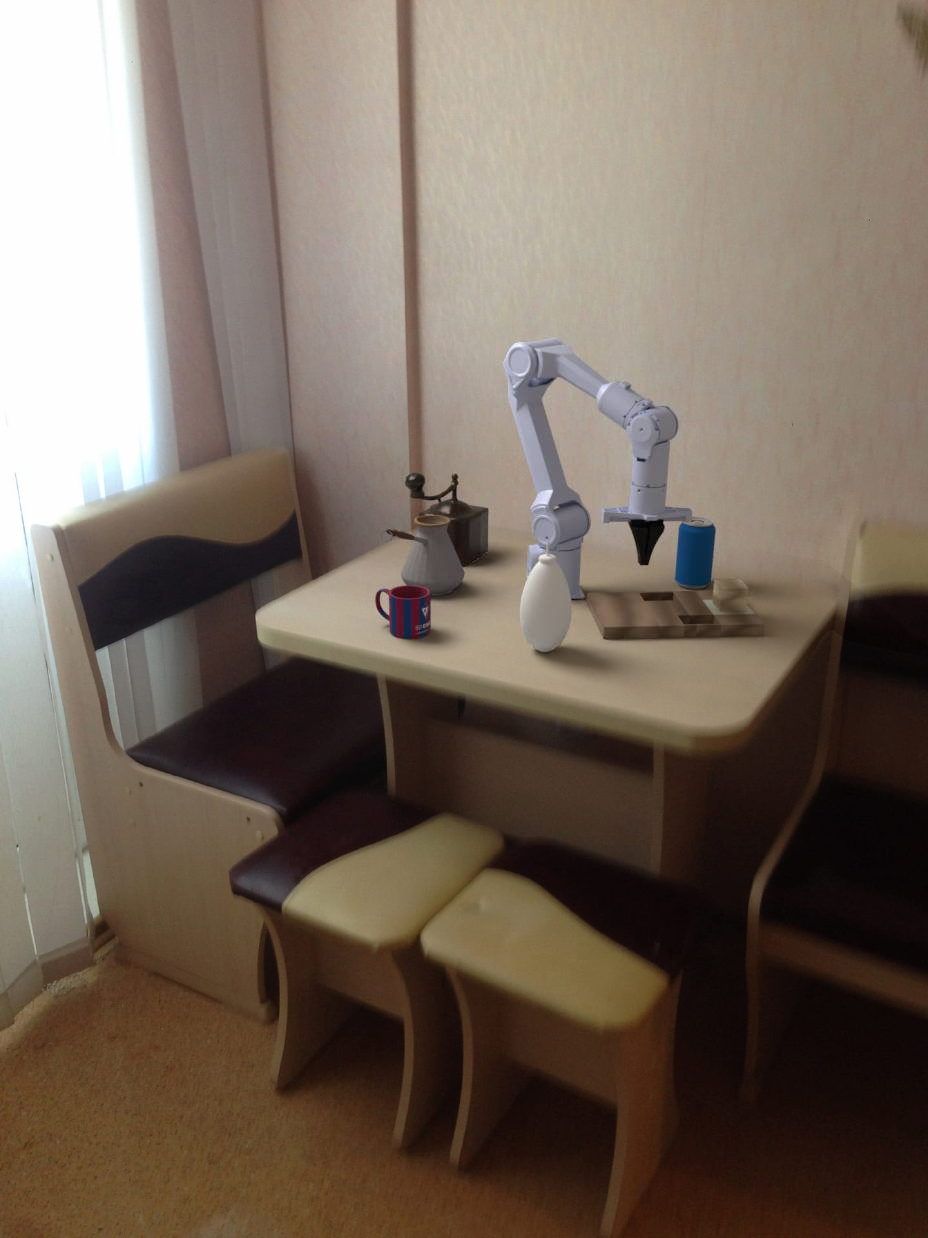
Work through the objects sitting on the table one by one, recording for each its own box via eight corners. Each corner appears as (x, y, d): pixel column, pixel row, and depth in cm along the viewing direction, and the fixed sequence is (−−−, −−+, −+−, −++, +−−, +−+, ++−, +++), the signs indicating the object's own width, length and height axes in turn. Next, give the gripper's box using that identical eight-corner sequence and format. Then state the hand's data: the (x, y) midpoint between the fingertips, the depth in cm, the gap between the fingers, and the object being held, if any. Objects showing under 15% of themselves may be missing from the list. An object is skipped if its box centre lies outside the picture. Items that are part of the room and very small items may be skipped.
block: (719, 611, 178) (721, 588, 177) (712, 602, 182) (714, 579, 181) (746, 611, 178) (748, 588, 177) (738, 601, 182) (740, 579, 181)
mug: (412, 642, 170) (411, 602, 168) (366, 627, 176) (365, 588, 174) (439, 630, 175) (439, 590, 173) (393, 616, 181) (393, 577, 179)
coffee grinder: (440, 544, 219) (440, 457, 212) (489, 552, 214) (490, 463, 207) (401, 566, 206) (400, 473, 199) (452, 575, 201) (452, 480, 194)
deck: (603, 638, 172) (604, 627, 171) (586, 603, 187) (587, 592, 186) (763, 635, 174) (764, 624, 173) (733, 601, 188) (734, 590, 188)
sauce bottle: (556, 663, 163) (561, 549, 156) (510, 653, 166) (513, 542, 160) (577, 646, 169) (582, 536, 163) (532, 636, 173) (535, 528, 166)
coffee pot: (421, 574, 201) (420, 496, 196) (475, 584, 196) (476, 504, 191) (358, 610, 184) (355, 525, 178) (416, 622, 179) (415, 535, 173)
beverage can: (708, 579, 199) (714, 516, 195) (712, 591, 193) (718, 526, 189) (673, 578, 200) (678, 515, 195) (676, 589, 194) (681, 525, 189)
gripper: (608, 489, 169) (603, 571, 174) (699, 489, 170) (692, 570, 175) (600, 478, 175) (596, 558, 180) (688, 478, 176) (682, 557, 181)
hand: (643, 563), depth 178 cm, fingers closed
